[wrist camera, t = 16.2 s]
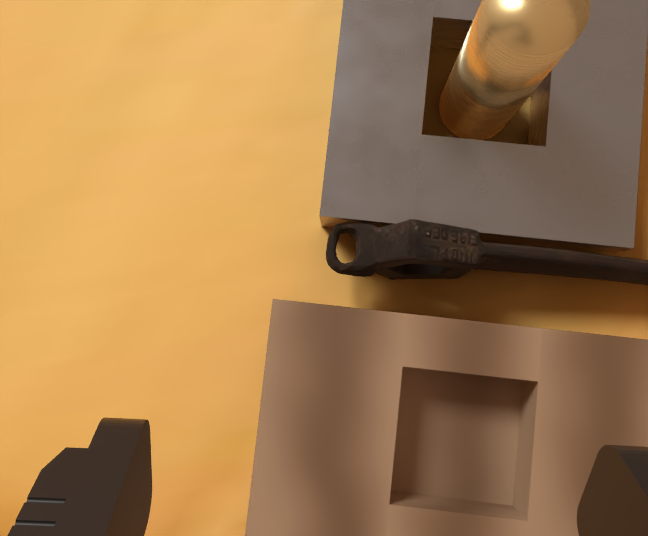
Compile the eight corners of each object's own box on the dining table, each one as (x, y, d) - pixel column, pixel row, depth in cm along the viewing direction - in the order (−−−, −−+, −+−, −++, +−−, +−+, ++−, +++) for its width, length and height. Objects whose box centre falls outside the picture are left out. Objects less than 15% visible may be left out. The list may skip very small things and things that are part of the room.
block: (321, 226, 31) (319, 215, 28) (350, -40, 32) (352, -77, 29) (605, 255, 30) (633, 248, 27) (623, -16, 32) (653, -51, 29)
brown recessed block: (258, 510, 30) (244, 543, 25) (282, 302, 31) (272, 299, 26) (616, 553, 29) (667, 595, 25) (630, 340, 30) (681, 343, 26)
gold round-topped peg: (435, 137, 31) (480, 49, 21) (442, 68, 32) (489, -50, 22) (507, 144, 31) (586, 59, 21) (513, 75, 31) (594, -41, 21)
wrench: (901, 406, 31) (314, 328, 30) (900, 306, 32) (327, 227, 31) (1021, 416, 26) (319, 321, 25) (1016, 296, 27) (335, 200, 26)
